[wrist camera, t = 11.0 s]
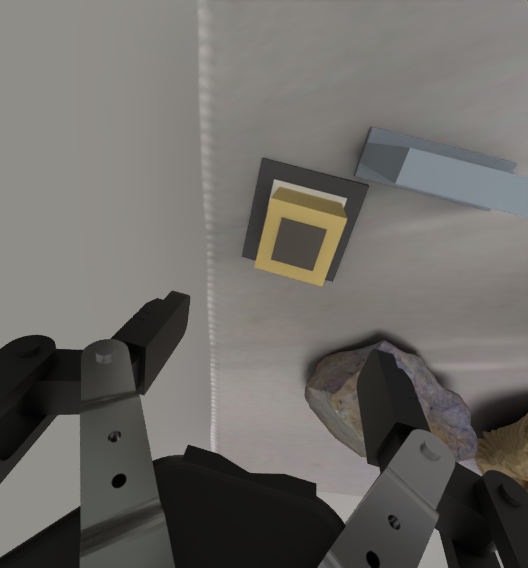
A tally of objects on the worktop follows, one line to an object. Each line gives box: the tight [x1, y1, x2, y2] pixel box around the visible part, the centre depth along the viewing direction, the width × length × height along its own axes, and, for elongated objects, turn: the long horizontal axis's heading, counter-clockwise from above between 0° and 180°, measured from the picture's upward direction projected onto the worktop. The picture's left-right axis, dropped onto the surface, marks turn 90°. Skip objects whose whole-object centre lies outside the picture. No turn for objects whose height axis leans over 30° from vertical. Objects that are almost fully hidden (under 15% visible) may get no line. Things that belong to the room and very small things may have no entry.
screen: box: [354, 127, 528, 218], centre depth 20 cm, size 4×12×14 cm, turn 77°
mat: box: [242, 158, 369, 282], centre depth 29 cm, size 10×10×1 cm
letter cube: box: [254, 186, 347, 286], centre depth 26 cm, size 6×6×6 cm
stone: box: [305, 340, 477, 463], centre depth 32 cm, size 18×10×15 cm
